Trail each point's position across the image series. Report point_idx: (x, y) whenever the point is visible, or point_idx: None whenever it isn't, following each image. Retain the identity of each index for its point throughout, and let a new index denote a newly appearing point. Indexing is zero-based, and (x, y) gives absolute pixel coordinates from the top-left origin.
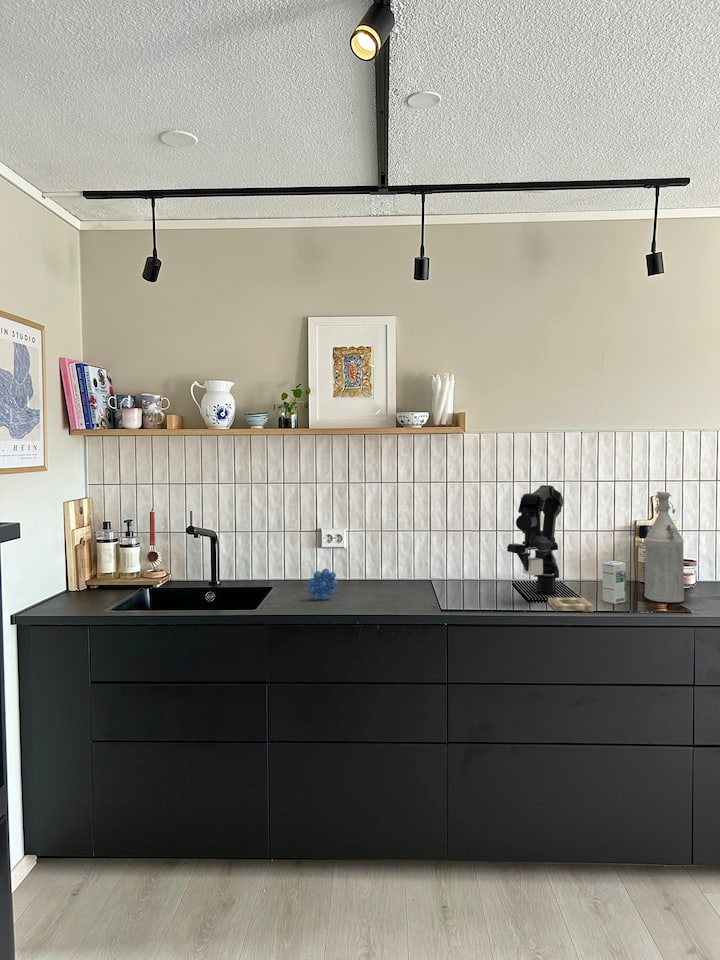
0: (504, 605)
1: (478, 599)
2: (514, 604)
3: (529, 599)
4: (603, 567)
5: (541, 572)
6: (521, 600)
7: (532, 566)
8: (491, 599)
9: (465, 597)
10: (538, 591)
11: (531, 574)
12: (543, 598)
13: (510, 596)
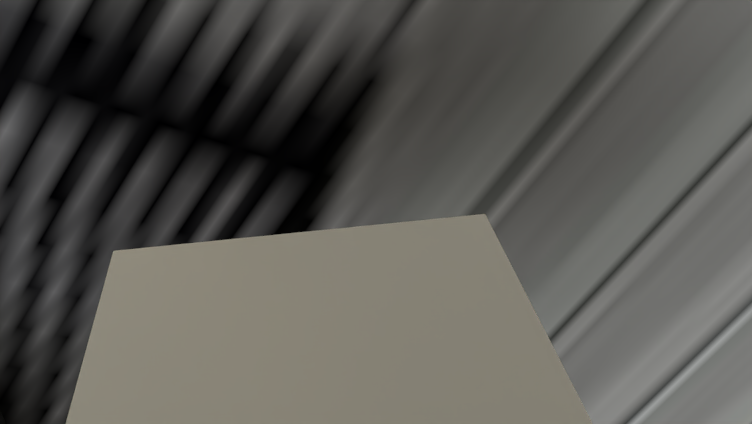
0: (726, 43)
1: (722, 337)
2: (594, 44)
3: (267, 202)
4: None
5: (153, 282)
6: (386, 188)
7: (535, 394)
8: (627, 309)
9: (748, 415)
10: (2, 419)
11: (492, 231)
12: (63, 194)
13: None
